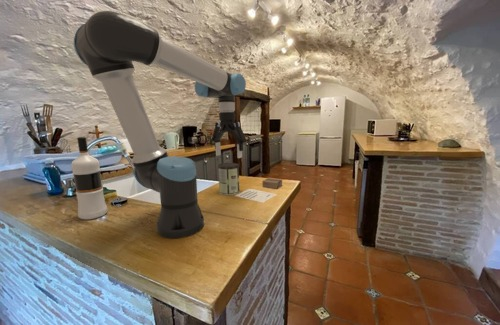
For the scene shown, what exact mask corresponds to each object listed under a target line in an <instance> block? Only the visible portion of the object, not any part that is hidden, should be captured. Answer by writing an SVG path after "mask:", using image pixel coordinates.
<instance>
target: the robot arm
mask: <svg viewBox="0 0 500 325" xmlns="http://www.w3.org/2000/svg"><path fill="white" fill-rule="evenodd" d="M73 48H74V51H75V53H76V56H78V58H79V60H80V61H81V62H82V63H83V64H84V65H86V66H87V68H88V69H89V70H88V71H89V72H90V74H91V77H93V78H94V79H95V80H97V81H99V82H100V83H101V84H102V86H103V89H104V91H105V93H106V95H107V97H108V100H109V102H110V104H111V106H112V110H114V114H115V115H116V117H117V119H118V120H117V121H118V122H119V124H120V126H121V128H122V131H123V132H124V135H125V137H126V140H127V142H128V144H129V146H130V148H131V151H132V152H133V157H132V160H131V162H132V165H133V166H134V169H133V176H134V178H135V181H137V183H138V184H139V185H140V186H142V187H144V188H146V189H149V190H152V191H155V192H157V193H159V198H160V211H159V216H158V220H157V223H156V227H157V229H156V230H157V234H158V235H159V236H161V237H164V238H167V239H168V238H169V239H179V238H185V237H189V236H193V235H195V234H196V233H198V232H200V231H201V230H202V229H203V228H204V226H205V218H204V215H203V212H202V210H201V208H200V205H199V203H198V186H197V183H198V182H197V167H196V163H195V162H194V160H192V159H191V158H189V157H184V156H169V155H168V152H167V150H166V148H164V147H162V146H160V144H159V142H158V140H157V136H156V134H155V131H154V128H153V126H152V124H151V120H150V118H149V116H148V113H147V111H146V108H145V106H144V103H143V100H142V98H141V96H140V93H139V91H138V89H137V86H136V83H135V81H134V78H133V74H134V72H135V71H136V70H135V66H134V64H133V62H135V63H136V62H137V63H140V64H143V65H145V66H152V65H155V66H158V67H160V68H162V69H164V70H167V71H170V72H173V73H174V74H177V75H179V76H182V77H184V78H187V79H189V80H191V81H194V82H195V83H194V91H195V93H196V95H197V96H198V97H200V98H201V97H202V98H205V99H206V98H209V99H210V98H212V99H218V111H219V114H218V115H219V116H218V118H219V121H217V122H215V123H214V124H215V125H214V129H213V132H212V136H211V140H210V141H211V142H214V149H215V156H216V157H218V156H221V155H222V151H221V139H222V137H223V135H224V134H225V133H230V134H232V136H233V138H234V139H235V140H236V142H237V144H236V147H237V148H236V151H237V153H236V155H237V156H236V157H237V159H241V158H243V151H244V144H245V143H247V141H248V140H247V139H246V136H245V133H244V131H243V128H242V125H241V122H239V121H238V122H235V120H236V100H235V99H236V98H235V96H237V95H241V94H243V93H244V92H245V90H246V88H247V86H246V85H247V82H246V78H245V77H244V76H243V74H242V73H239V72H238V73H234V72H233V73H230V72H227V71H226V70H225V69H222V68H220V67H218V66H216V65H214V64H212V63H210V62H209V61H207V60H205V59H203V58H202V57H199V56H198V55H195V54H194V53H192V52H190V51H188V50H186V49H184V48H183V47H181V46H179V45H177V44H176V43H174V42H171V41H169V40H167V39H166V38H164V37H162V36H161V33H160V32H159V31H158V30H157V29H156V28H153V27H151V26H150V25H148V24H146V23H145V22H142V21H140V20H138V19H136V18H134V17H131V16H128V15H126V14H123V13H120V12H117V11H111V10H101V11H97V12H95V13H94V14H92V15H91V16H90V17H89V18H88V19H87V21H86V22H85V23H83V24H82V25H80V26H79V27H78V28H77V30H76V31H75V34H74V37H73Z"/></svg>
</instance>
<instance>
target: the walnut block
mask: <svg viewBox="0 0 500 325" xmlns="http://www.w3.org/2000/svg"><path fill="white" fill-rule="evenodd" d="M282 186H283V179H281V178H274V177H267V178H265V179H263V180H262V188H264V189H265V188H267V189H272V190H278V189H279V188H281V187H282Z"/></svg>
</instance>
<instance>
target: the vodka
mask: <svg viewBox="0 0 500 325" xmlns="http://www.w3.org/2000/svg"><path fill="white" fill-rule="evenodd" d="M76 139H77V144H78V152H79V156H77V157H76V158H75V159H73V160H72V162H71V165H70V167H71V170H72V175H73V180H74V186H75V187H74V188H75V191H76V192H75V195H76V199H77V207H78V208H77V217H78V218H79V219H80V220H87V221H89V220H94V219H98V218H101V217H103V216H105V215H106V214H107V212H108V210H109V209H108V206H107V203H106V199H105V196H104V188H103V182H102V176H101V167H100V166H101V164H100V161H99V159H98V158H96V157H94V156H91V155H90V154H89V150H88V149H89V148H88V142H87V137H84V136H81V137H76Z"/></svg>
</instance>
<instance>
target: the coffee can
mask: <svg viewBox="0 0 500 325" xmlns="http://www.w3.org/2000/svg"><path fill="white" fill-rule="evenodd" d="M217 167H218V186H219V187H218V189H219V194H220V195H223V196H224V195H225V196H233V195H234V196H235V195H237V194H239V193H241V192H240V168H239V167H240V163H235V162H223V163H220V164H218V165H217Z"/></svg>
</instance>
